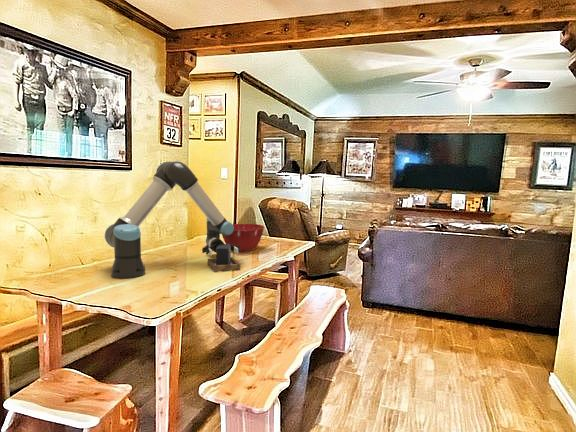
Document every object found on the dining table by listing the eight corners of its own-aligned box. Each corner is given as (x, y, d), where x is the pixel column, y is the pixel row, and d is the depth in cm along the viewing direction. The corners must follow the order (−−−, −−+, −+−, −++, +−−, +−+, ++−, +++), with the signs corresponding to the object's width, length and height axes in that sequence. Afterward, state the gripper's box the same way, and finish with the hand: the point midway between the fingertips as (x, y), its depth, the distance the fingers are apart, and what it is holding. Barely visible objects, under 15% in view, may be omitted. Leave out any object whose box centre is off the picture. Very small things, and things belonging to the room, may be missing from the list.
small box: (228, 268, 195) (228, 248, 194) (215, 268, 195) (215, 248, 193) (231, 263, 205) (231, 244, 204) (218, 263, 205) (218, 244, 204)
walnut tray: (213, 272, 189) (213, 266, 189) (207, 264, 205) (207, 258, 205) (240, 270, 194) (240, 264, 194) (232, 262, 210) (232, 257, 210)
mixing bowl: (242, 256, 226) (242, 231, 224) (210, 250, 243) (210, 226, 241) (273, 249, 248) (273, 226, 246) (241, 244, 265) (241, 222, 264)
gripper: (238, 250, 221) (248, 257, 201) (194, 252, 212) (200, 261, 192) (238, 237, 220) (248, 243, 200) (194, 239, 211) (200, 246, 191)
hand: (224, 252), depth 196 cm, fingers open, 13 cm apart
